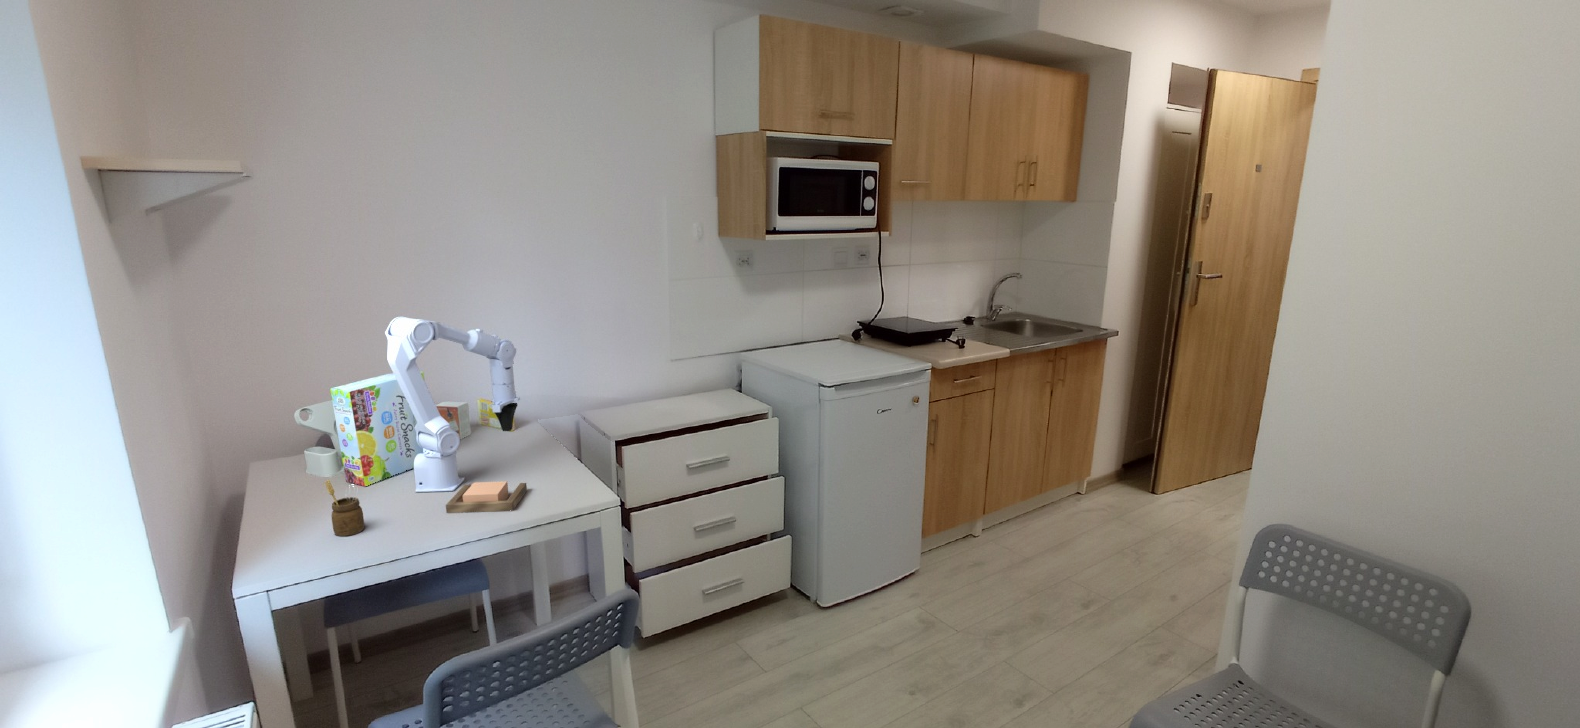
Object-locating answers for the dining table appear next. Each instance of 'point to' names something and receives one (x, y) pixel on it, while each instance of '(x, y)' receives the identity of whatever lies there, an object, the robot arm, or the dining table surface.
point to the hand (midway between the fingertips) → (507, 430)
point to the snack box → (374, 429)
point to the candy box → (488, 414)
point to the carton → (486, 492)
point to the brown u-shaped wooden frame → (484, 502)
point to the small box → (456, 416)
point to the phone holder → (322, 458)
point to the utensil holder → (346, 514)
